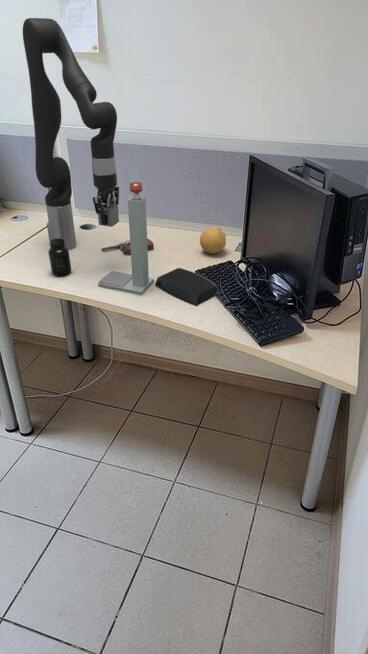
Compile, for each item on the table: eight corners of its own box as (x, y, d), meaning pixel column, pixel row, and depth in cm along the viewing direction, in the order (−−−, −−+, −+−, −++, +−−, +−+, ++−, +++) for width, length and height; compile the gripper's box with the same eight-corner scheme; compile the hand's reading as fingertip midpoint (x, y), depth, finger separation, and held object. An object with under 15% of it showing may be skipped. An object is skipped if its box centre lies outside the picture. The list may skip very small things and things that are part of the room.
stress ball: (198, 257, 181) (211, 248, 172) (192, 233, 182) (206, 223, 173) (219, 256, 186) (233, 247, 177) (214, 232, 187) (228, 222, 178)
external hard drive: (180, 274, 168) (180, 264, 166) (221, 294, 157) (222, 283, 154) (152, 287, 160) (152, 276, 158) (194, 308, 149) (194, 297, 147)
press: (98, 286, 159) (88, 198, 142) (112, 273, 167) (105, 188, 150) (141, 295, 154) (136, 205, 138) (153, 281, 162) (151, 194, 145)
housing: (98, 224, 160) (97, 205, 157) (106, 219, 164) (104, 201, 161) (112, 226, 159) (110, 207, 155) (119, 221, 163) (117, 203, 159)
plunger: (129, 209, 143) (127, 184, 139) (134, 205, 146) (133, 181, 142) (139, 211, 142) (138, 186, 138) (145, 207, 145) (144, 182, 141)
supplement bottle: (75, 270, 169) (71, 238, 163) (65, 278, 164) (60, 246, 157) (58, 267, 171) (53, 235, 164) (48, 275, 166) (42, 243, 159)
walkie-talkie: (147, 242, 191) (100, 252, 183) (147, 231, 189) (99, 241, 181) (157, 250, 185) (108, 260, 177) (156, 239, 182) (108, 249, 174)
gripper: (105, 164, 159) (109, 213, 168) (82, 175, 147) (88, 227, 157) (125, 166, 156) (128, 216, 166) (103, 178, 145) (108, 230, 155)
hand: (108, 221), depth 161 cm, fingers closed on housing, 5 cm apart
